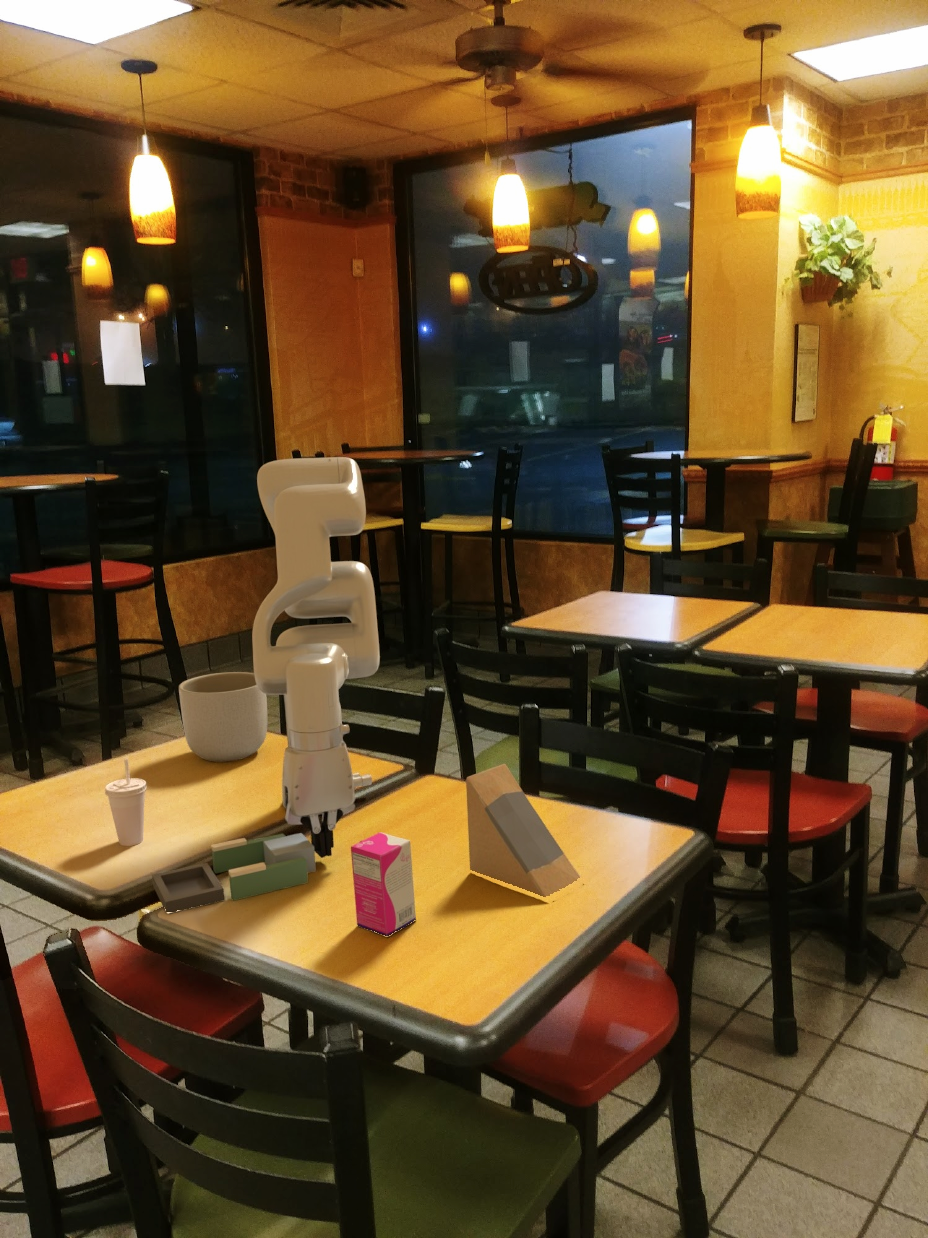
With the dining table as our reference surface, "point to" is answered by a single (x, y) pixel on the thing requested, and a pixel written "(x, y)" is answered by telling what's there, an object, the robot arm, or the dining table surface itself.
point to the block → (289, 850)
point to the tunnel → (255, 868)
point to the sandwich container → (512, 836)
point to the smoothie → (127, 807)
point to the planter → (223, 715)
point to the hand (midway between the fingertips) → (323, 853)
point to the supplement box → (383, 883)
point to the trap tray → (188, 887)
